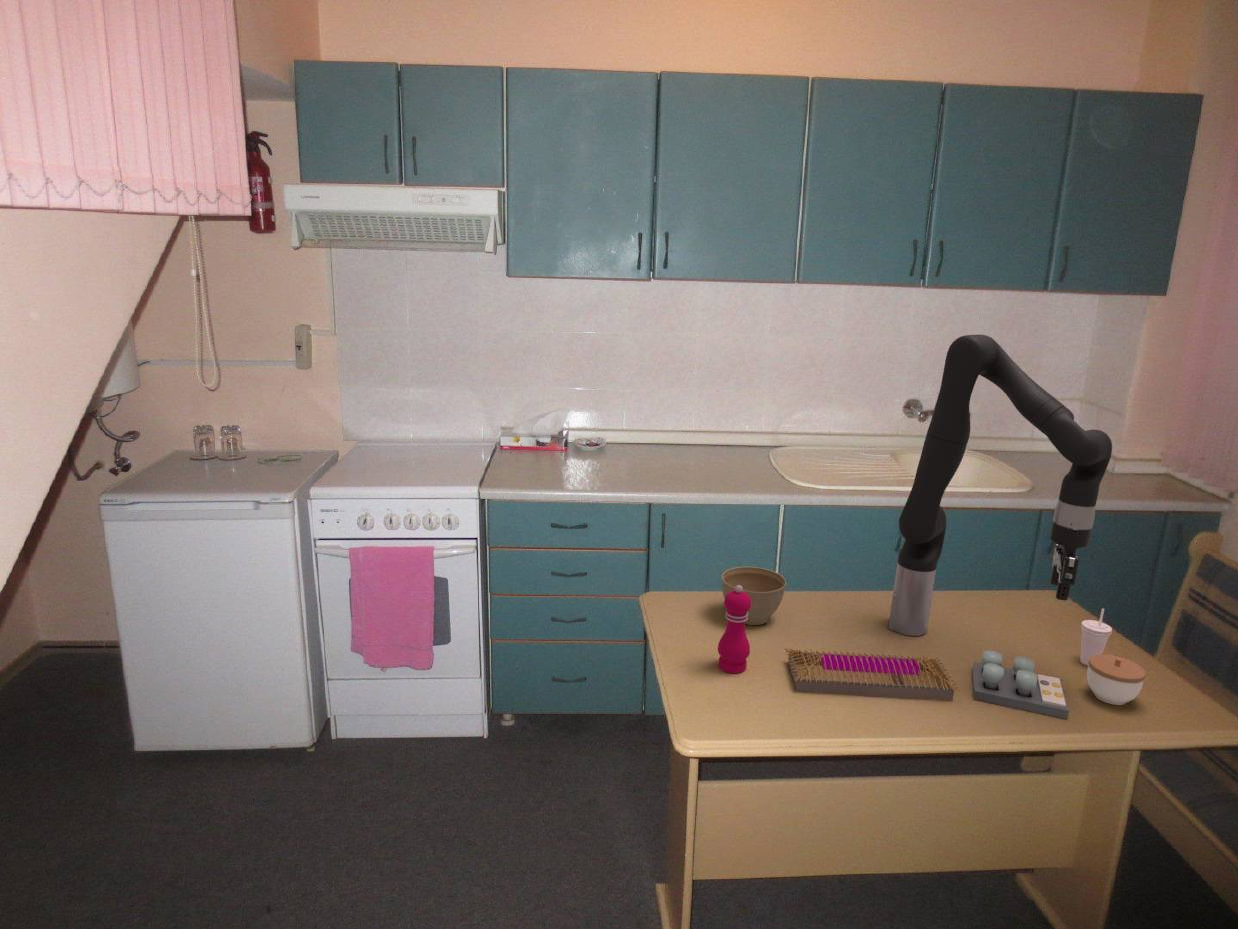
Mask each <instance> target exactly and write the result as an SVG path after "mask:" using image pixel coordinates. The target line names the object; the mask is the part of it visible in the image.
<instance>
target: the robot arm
mask: <svg viewBox="0 0 1238 929" xmlns="http://www.w3.org/2000/svg"><path fill="white" fill-rule="evenodd" d="M979 376H981V377H983V378H985V379H986V380H988V381H989V382H991V383H992V384H994V385H995V386H996V387H998V388H999V389H1000V390H1001V392H1003V393H1004V394H1005V395H1006V396H1007V398H1008V400H1010V402H1011V403H1012V405H1013V406H1014V408H1015V409H1016V410H1017V411H1018V412H1019V413H1020V415H1021V416H1022V417H1023V418H1025V420H1027V422H1029V423H1030V424H1032V426H1034V427H1035V428H1036V429H1037V430H1038V431H1040V432H1041V433H1042V434H1043V435H1045V436H1046V437H1047V439H1048V440H1049V442H1050V443H1051V444H1052V445H1053V447H1055V449H1056V450H1057V451H1058V453H1060V454H1061V456H1062V457H1064V458H1065V459H1066V460H1067V461H1068V462H1070V463H1071V466H1070V470H1069V471H1068V473H1066V474H1065V475H1064V477H1063V478H1062V482H1061V487H1060V491H1059V496H1058V500H1057V503H1056V506H1055V509H1054V512H1053V513H1054V514H1053V518H1052V524H1051V528H1050V533H1049V540H1050V541H1051V542H1053V543H1054V548H1053V553H1052V557H1051V562H1052V563H1051V566H1052V572H1051V577H1050V584H1051V585H1053V586H1057V587H1056V593H1055V599H1057V600H1059V601H1065V602H1066V601H1067V600H1068V598H1069V594H1070V589H1071V586H1074V585H1075V583H1076V576H1077V571H1078V568H1079V563H1080V558H1079V554H1078V553H1077V550H1078V549H1085V548H1088V547H1089V544H1090V540H1091V536H1092V532H1093V531H1092V530H1093V526H1094V522H1095V517H1096V505H1097V501H1098V497H1099V492H1100V485H1101V482H1102V480H1103V478H1104V477H1105V476H1104V475H1105V473H1106V471H1107V468H1108V466H1109V464H1110V460H1111V458H1112V453H1113V442H1112V439H1111V437H1110V436H1109V435H1108V433H1107V432H1104V431H1102V430H1099V429H1089V430H1085V429H1084V428H1082V427H1081V425H1079V424H1078V422H1076V421H1075V415H1074V413H1073V412H1072V411H1071V410H1070V409H1069V408H1068V407H1067V406H1065V405H1064V404H1063V403H1061V402H1060V401H1059V400H1058V399H1057V398H1055V397H1054V396H1053V395H1052V394H1050V392H1048V391H1047V390H1045V389H1044V388H1043V387H1042V386H1040V385H1039V384H1038V383H1037V382H1036V381H1035V380H1034V379H1032V377H1030V376H1029V375H1028V374H1027V373H1026V372H1025V371H1024V370H1023V369H1022V368H1021V367H1020V366H1019V365H1018V364H1017V363H1016V362H1015V361H1014V360H1013V359H1012V358H1011V356H1009V355H1008V353H1007V352H1006V351H1005V350H1004V349H1003V348H1002V346H1001V345H1000V344H999V343H998V342H997V341H996V340H995V339H994V338H993V337H991V336H989V335H985V334H966V335H962V336H959V337H957V338H956V339H954V341H953V342H952V343H951V344H950V346H949V347H948V350H947V352H946V356H945V362H944V368H943V373H942V379H941V382H940V388H939V393H938V396H937V399H936V402H935V406H934V410H933V414H932V416H931V420H930V423H929V425H928V428H927V432H926V435H925V437H924V438H925V439H924V442H923V444H922V445H923V446H922V450H921V454H920V457H919V460H918V464H917V468H916V472H915V476H914V480H913V483H912V487H911V490H910V492H909V495H908V497H907V500H906V502H905V504H904V506H903V509H902V511H901V513H900V517H899V521H898V527H899V532H900V534H901V536H902V537H903V539H904V543H903V545H902V547H901V549H900V551H899V552H898V557H897V563H896V564H897V565H896V572H895V578H894V585H893V591H892V592H893V593H892V598H891V605H890V613H889V619H888V627H887V628H888V630H892V631H894V632H895V633H896V632H897V633H899V634H901V635H906V636H912V637H917V636H918V637H919V636H924V635H925V634H926V633H927V632H928V626H929V621H930V613H931V607H932V600H933V593H934V586H935V580H936V573H937V568H938V562H939V559H940V557H941V555H942V552H943V546H944V542H945V536H946V530H947V515H946V512H945V510H944V509H943V508H942V506H941V503H942V500H943V499H942V498H943V497H944V496H943V495H944V494H945V491H946V490H947V487H948V486H949V484H950V482H951V481H952V479H953V478H954V476H955V474H956V472H957V471H958V469H959V467H960V465H961V463H962V461H963V459H964V455H965V452H966V449H967V445H968V443H969V439H970V436H971V414H970V403H971V397H972V394H973V391H974V388H975V385H976V382H977V380H978V377H979ZM1066 575H1068V578H1067V577H1066Z"/></svg>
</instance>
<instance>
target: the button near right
mask: <svg viewBox="0 0 1238 929" xmlns="http://www.w3.org/2000/svg"><path fill="white" fill-rule="evenodd" d="M1036 683H1037V675H1036V673H1035V672H1034V671H1033V672H1031V671H1027V670H1018V671H1017V674H1016V680H1015V684H1016V685H1017V686H1018V694H1020V695H1022V696H1030V691H1031V690H1034V689H1035V688H1036Z"/></svg>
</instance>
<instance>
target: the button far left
mask: <svg viewBox="0 0 1238 929" xmlns="http://www.w3.org/2000/svg"><path fill="white" fill-rule="evenodd" d="M1002 662H1003V654H1001V653H1000V652H998V651H996V650H995V651H994V650H989V649H988V650H987V649H986V650H984V651H983V652H982V657H981V663H982V665H983V666H984V665H985V664H987V663H992V664H996V665H999V666H1001V667H1002Z"/></svg>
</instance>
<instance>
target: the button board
mask: <svg viewBox="0 0 1238 929" xmlns="http://www.w3.org/2000/svg"><path fill="white" fill-rule="evenodd" d="M1002 668H1003V669H1004V674H1003V680H1002V682H1001V683H998V684H997V689H989V688H987V687H985V681H986V680H985V679H984V678H983V677H982V675H983V669H984V666H983V665H982V663H980V662H976V661H973V665H972V688H973V689H972V690H973V694H972V695H973V700H976V701H980V702H984V703H989V704H994V705H999V706H1002V707H1003V706H1004V707H1007V708H1011V709H1012V708H1014V709H1017V710H1023V711H1027V712H1031V713H1032V712H1033V713H1037V714H1042V715H1046V716H1051V717H1053V718H1054V717H1055V718H1060V719H1063V720H1067V719H1068V716H1069V706H1068V702H1067V698H1066V695H1065V690H1064V686H1063V683H1062V679H1061V678H1059V677H1054V676H1049V675H1044V674H1039V673H1037V674H1036V673H1035V674H1036V675H1037V683H1036V688H1035V689H1034V690H1031V691H1030V696H1022V695H1020V694H1018V686H1017V685H1016V684H1015V680H1016V672H1015V671H1014V670H1013V668H1012V669H1011V668H1007V667H1006V668H1005V667H1002Z"/></svg>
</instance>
